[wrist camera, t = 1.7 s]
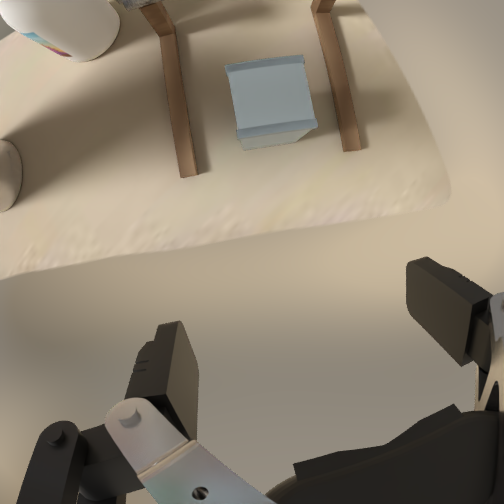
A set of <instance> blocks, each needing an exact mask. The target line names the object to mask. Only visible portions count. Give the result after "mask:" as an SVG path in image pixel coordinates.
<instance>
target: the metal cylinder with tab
mask: <svg viewBox="0 0 504 504" xmlns="http://www.w3.org/2000/svg"><path fill="white" fill-rule="evenodd" d="M116 1H117V2H118V3H119V4H120V3H123V4H124V6H125V8H126V9H127V10H128V11H130V10H133V9H136V8H139V7H142V6H146V5H149V4H152V3H156V2H159V1H163V0H116Z"/></svg>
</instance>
